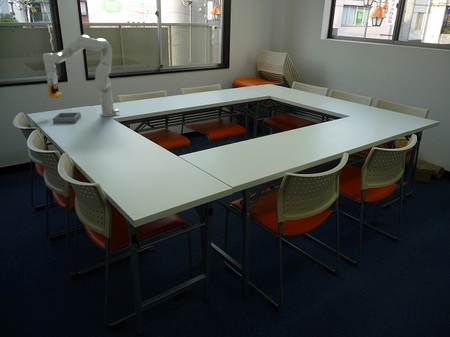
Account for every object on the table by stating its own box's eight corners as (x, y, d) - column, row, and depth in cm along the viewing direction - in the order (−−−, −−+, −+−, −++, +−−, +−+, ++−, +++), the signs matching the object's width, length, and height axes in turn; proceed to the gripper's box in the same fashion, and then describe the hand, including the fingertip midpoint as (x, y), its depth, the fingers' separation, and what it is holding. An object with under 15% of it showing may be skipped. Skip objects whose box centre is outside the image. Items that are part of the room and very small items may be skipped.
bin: (81, 117, 295) (80, 112, 294) (75, 122, 280) (74, 117, 279) (60, 117, 294) (59, 112, 292) (53, 123, 279) (52, 118, 277)
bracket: (56, 98, 289) (53, 83, 284) (48, 98, 290) (45, 83, 285) (63, 95, 299) (60, 81, 294) (55, 95, 299) (52, 80, 295)
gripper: (49, 67, 293) (54, 90, 300) (41, 71, 277) (46, 94, 285) (59, 67, 293) (63, 90, 301) (51, 71, 278) (56, 94, 285)
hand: (55, 92), depth 293 cm, fingers closed on bracket, 5 cm apart
